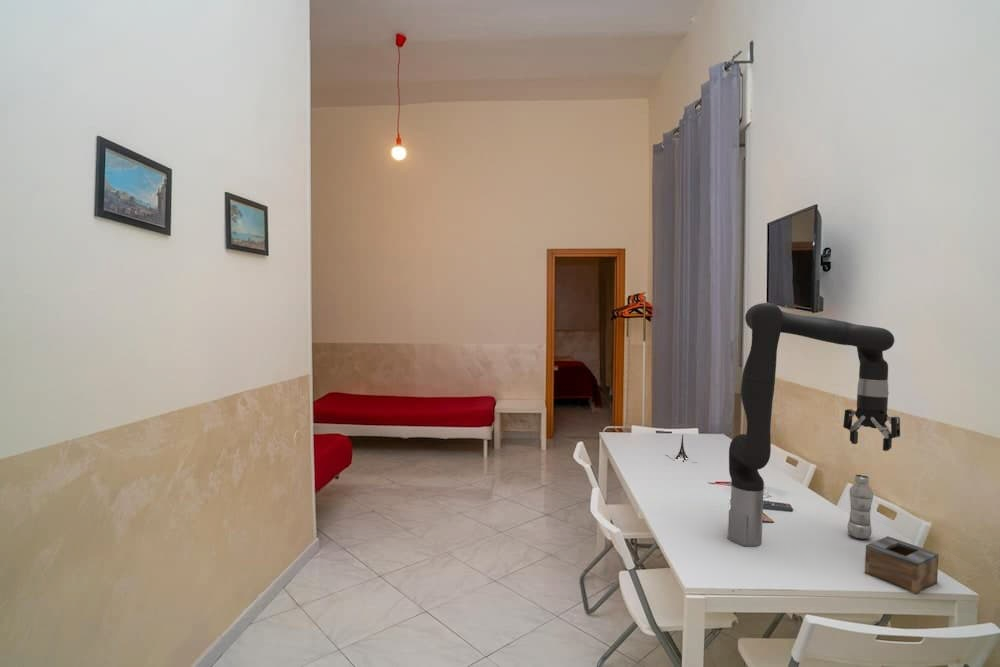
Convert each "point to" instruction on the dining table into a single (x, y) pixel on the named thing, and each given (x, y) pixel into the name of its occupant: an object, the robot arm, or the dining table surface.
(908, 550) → the box
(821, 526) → the dining table surface
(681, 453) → the eiffel tower figurine
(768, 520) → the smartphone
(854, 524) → the plastic bottle
